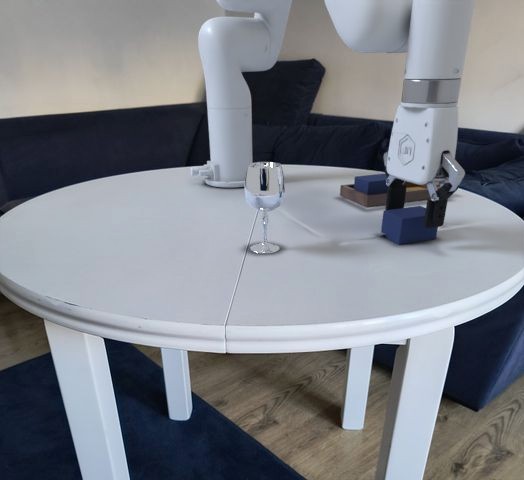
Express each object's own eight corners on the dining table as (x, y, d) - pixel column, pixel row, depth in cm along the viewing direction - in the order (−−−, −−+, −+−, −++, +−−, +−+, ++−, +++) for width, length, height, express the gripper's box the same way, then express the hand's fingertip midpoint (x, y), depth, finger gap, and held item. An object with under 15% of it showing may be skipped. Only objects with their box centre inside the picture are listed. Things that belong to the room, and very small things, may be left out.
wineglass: (245, 242, 75) (243, 161, 69) (281, 241, 76) (282, 160, 70) (246, 255, 71) (244, 169, 64) (286, 254, 71) (287, 168, 65)
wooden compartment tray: (449, 199, 97) (452, 186, 95) (366, 210, 91) (367, 196, 89) (418, 189, 105) (420, 176, 103) (339, 198, 99) (340, 185, 97)
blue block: (366, 203, 93) (368, 181, 91) (352, 197, 97) (354, 176, 95) (397, 199, 95) (399, 178, 93) (382, 193, 99) (385, 173, 97)
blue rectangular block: (398, 244, 74) (402, 218, 72) (380, 235, 78) (383, 210, 76) (436, 238, 76) (440, 213, 74) (416, 229, 80) (420, 205, 78)
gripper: (372, 93, 72) (362, 208, 81) (450, 98, 58) (428, 237, 67) (413, 91, 75) (399, 203, 83) (499, 96, 61) (471, 230, 69)
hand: (412, 218), depth 75 cm, fingers open, 9 cm apart
